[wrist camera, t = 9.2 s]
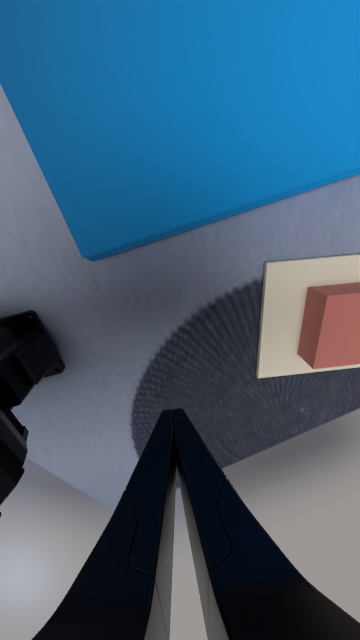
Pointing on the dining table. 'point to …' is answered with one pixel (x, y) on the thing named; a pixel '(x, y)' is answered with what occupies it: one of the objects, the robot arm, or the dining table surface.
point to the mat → (295, 309)
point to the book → (181, 107)
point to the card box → (331, 326)
